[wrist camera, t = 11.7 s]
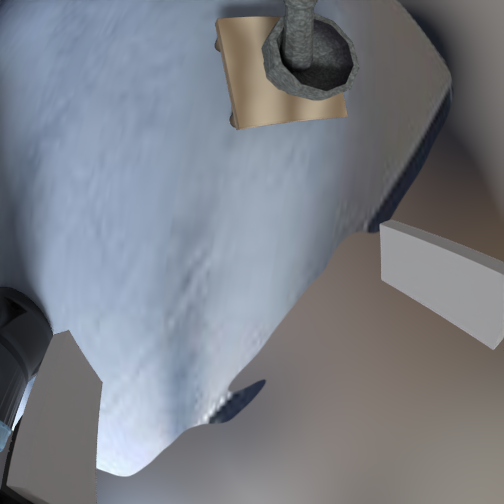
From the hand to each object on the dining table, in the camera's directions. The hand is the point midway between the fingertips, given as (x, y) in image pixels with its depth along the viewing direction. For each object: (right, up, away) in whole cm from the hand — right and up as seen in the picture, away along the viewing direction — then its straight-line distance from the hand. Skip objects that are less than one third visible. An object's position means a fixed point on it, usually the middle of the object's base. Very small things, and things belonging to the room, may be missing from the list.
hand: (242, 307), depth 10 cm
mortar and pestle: (+4, +23, +17) cm, 29 cm away
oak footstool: (+3, +25, +23) cm, 34 cm away
